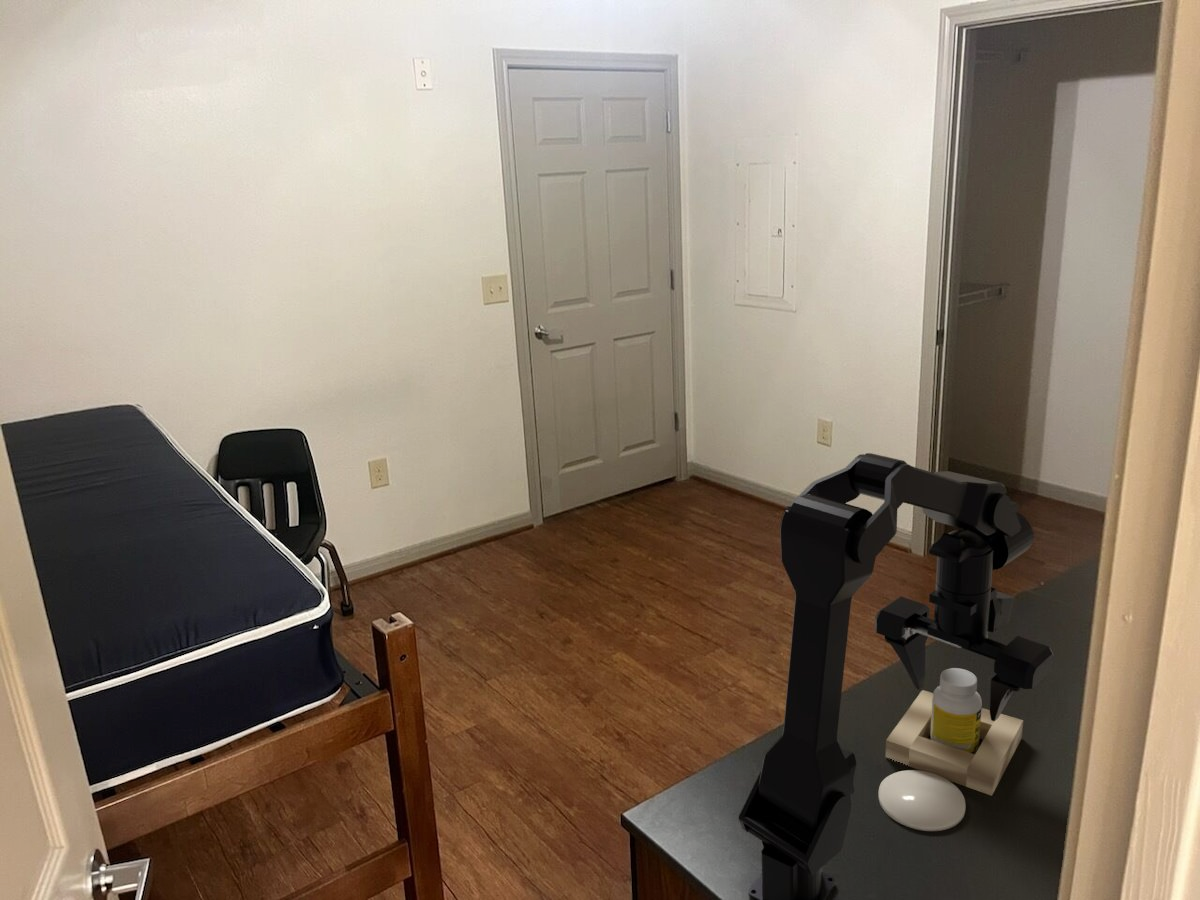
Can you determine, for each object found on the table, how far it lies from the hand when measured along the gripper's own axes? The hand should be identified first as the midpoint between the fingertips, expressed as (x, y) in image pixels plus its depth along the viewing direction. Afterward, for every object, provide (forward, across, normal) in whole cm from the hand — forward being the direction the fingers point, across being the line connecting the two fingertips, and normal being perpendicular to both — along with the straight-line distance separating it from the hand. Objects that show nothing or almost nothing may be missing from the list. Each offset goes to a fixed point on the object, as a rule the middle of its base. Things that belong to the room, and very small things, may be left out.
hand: (956, 703), depth 105 cm
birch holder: (+6, 0, 0) cm, 6 cm away
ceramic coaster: (+6, -2, +11) cm, 13 cm away
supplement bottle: (+6, 0, 0) cm, 7 cm away
